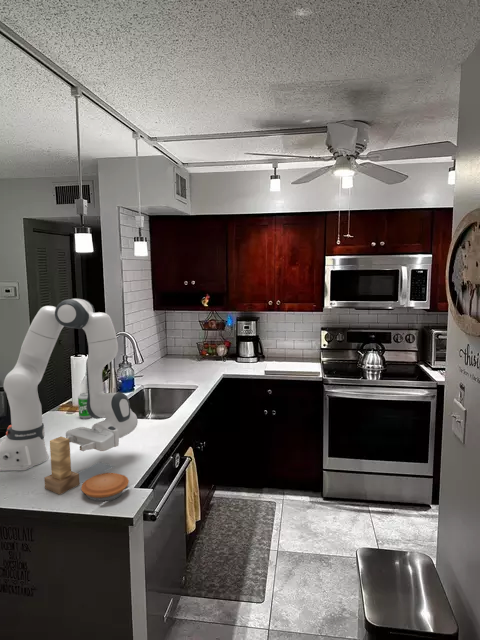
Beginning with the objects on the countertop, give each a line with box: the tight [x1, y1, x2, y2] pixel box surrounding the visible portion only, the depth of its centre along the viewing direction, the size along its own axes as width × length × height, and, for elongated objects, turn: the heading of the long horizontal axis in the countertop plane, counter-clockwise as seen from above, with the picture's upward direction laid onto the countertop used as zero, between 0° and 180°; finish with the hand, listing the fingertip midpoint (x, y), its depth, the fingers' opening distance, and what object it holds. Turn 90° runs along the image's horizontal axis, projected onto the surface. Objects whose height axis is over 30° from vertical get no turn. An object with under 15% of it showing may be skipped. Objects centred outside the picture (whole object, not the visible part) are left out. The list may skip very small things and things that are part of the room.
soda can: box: [77, 392, 92, 420], centre depth 229 cm, size 8×8×12 cm
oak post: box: [49, 436, 72, 480], centre depth 155 cm, size 4×4×13 cm
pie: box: [81, 472, 130, 503], centre depth 153 cm, size 15×16×5 cm
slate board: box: [61, 461, 116, 495], centre depth 163 cm, size 24×8×1 cm, turn 149°
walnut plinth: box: [43, 470, 81, 495], centre depth 156 cm, size 8×8×4 cm
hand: (72, 446), depth 158 cm, fingers open, 8 cm apart
